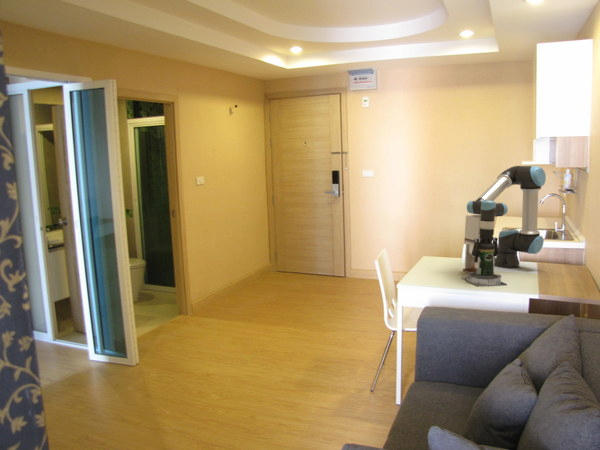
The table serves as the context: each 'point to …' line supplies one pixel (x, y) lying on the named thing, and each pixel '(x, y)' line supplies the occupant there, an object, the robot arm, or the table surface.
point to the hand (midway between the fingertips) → (484, 267)
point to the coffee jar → (485, 259)
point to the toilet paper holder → (471, 240)
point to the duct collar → (483, 279)
